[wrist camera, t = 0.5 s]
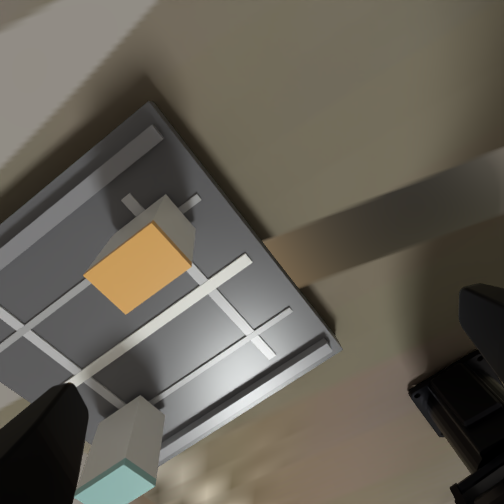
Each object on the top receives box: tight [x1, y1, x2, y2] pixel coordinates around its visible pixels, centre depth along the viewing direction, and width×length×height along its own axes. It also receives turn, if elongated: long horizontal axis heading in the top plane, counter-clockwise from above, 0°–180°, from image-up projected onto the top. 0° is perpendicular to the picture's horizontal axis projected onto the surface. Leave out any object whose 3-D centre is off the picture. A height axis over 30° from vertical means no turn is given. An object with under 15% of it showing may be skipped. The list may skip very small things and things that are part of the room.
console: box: [0, 101, 343, 467], centre depth 22 cm, size 19×18×2 cm
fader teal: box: [74, 395, 165, 504], centre depth 21 cm, size 2×4×5 cm, turn 126°
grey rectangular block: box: [83, 194, 196, 315], centre depth 16 cm, size 2×4×5 cm, turn 126°
